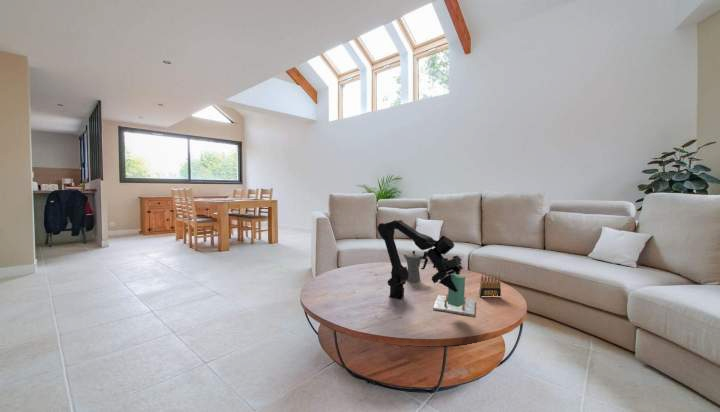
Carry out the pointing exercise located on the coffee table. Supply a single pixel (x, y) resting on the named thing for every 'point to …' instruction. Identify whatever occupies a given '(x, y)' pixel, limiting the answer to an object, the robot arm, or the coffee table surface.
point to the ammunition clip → (490, 286)
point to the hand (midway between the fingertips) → (459, 290)
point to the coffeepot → (414, 266)
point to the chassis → (443, 305)
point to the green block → (458, 296)
